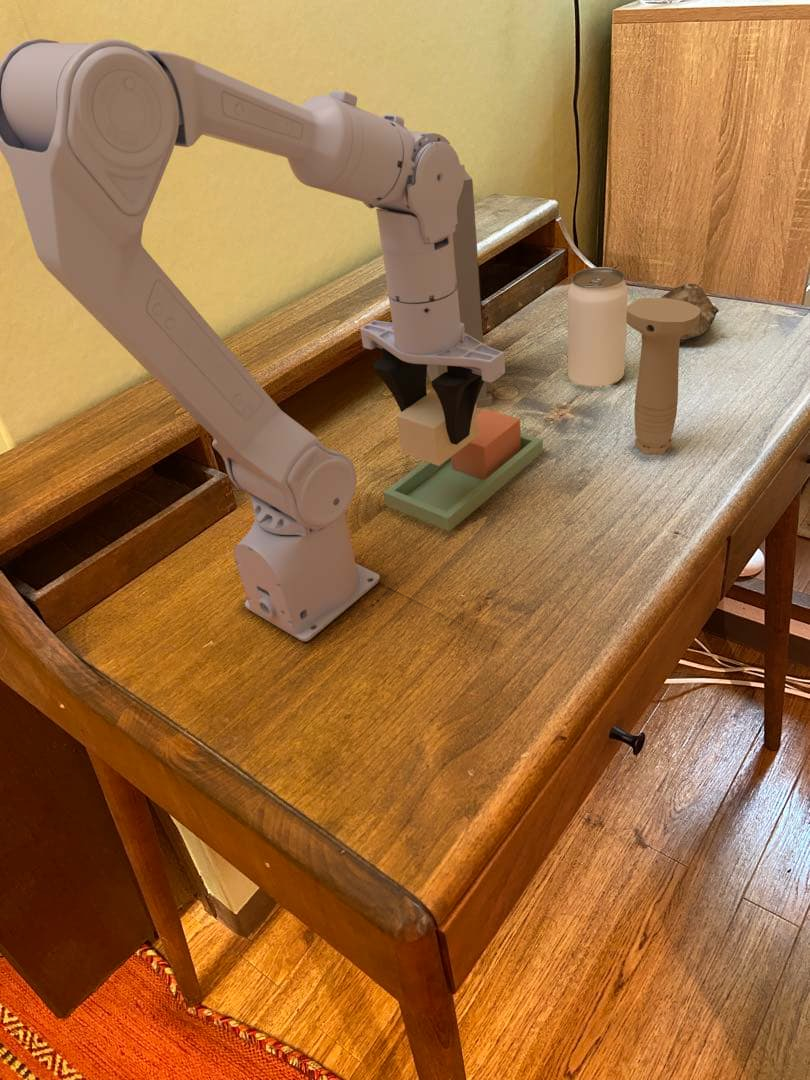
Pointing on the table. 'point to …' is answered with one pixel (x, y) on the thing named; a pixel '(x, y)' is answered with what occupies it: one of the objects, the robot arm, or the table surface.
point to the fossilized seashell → (699, 299)
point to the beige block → (430, 431)
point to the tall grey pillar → (467, 281)
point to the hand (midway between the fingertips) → (438, 431)
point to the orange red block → (489, 445)
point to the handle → (658, 367)
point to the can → (597, 326)
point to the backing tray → (454, 487)
